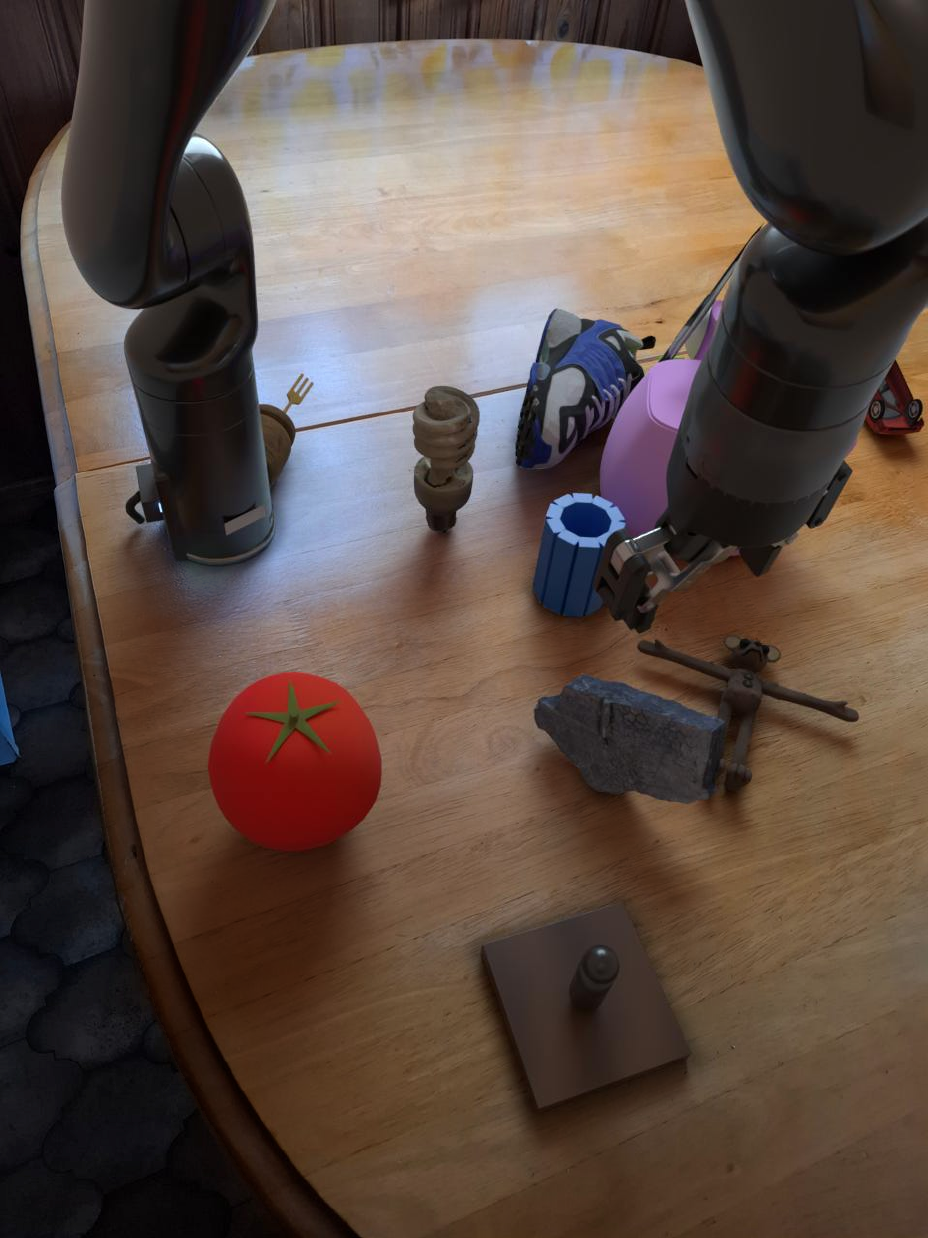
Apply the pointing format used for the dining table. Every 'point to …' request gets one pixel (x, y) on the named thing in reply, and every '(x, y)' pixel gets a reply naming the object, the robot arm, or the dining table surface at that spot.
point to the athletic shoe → (575, 385)
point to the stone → (634, 740)
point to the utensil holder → (280, 431)
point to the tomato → (294, 762)
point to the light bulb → (444, 453)
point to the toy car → (895, 406)
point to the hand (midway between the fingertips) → (693, 591)
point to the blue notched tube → (574, 552)
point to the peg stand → (582, 1006)
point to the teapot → (650, 439)
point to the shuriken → (701, 310)
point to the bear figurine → (745, 694)
